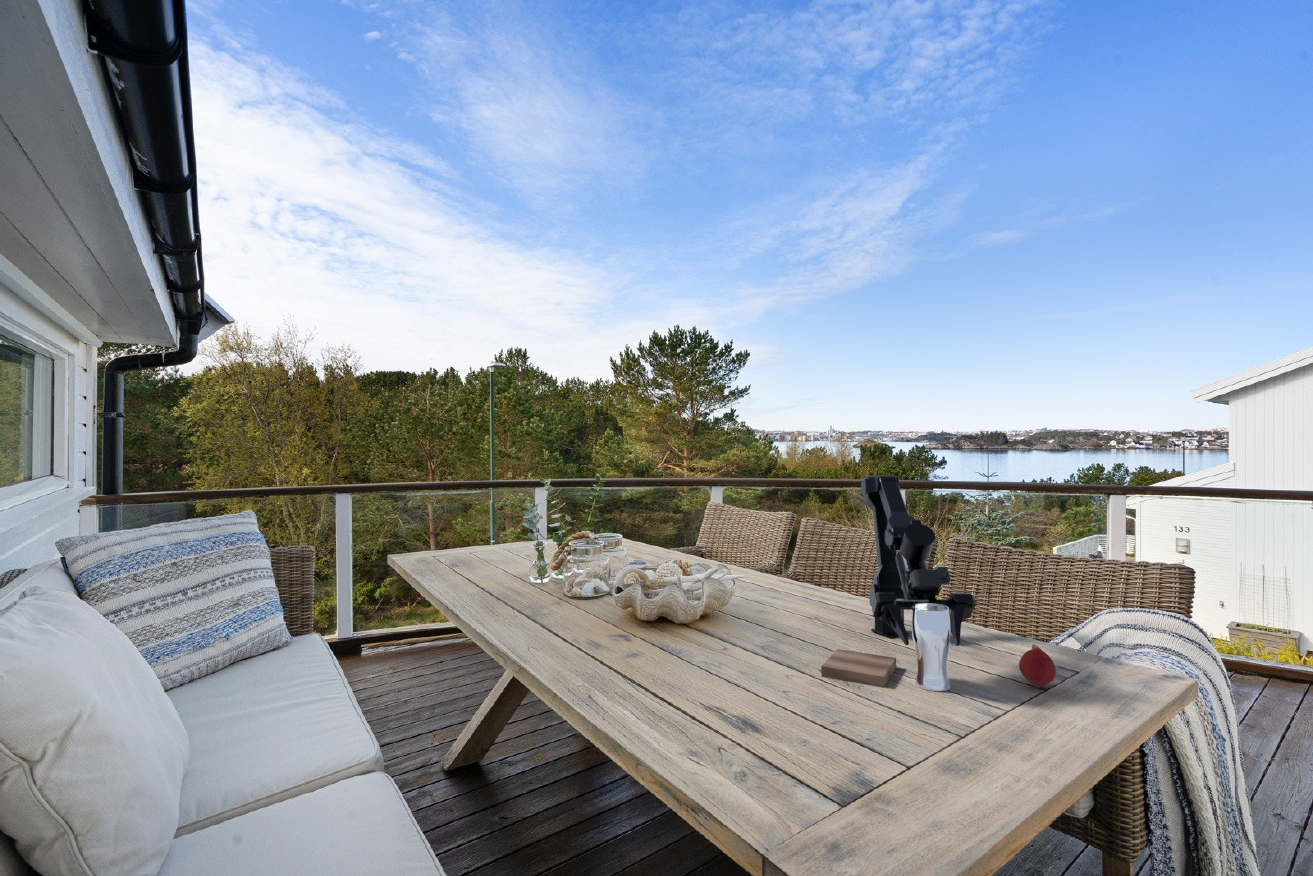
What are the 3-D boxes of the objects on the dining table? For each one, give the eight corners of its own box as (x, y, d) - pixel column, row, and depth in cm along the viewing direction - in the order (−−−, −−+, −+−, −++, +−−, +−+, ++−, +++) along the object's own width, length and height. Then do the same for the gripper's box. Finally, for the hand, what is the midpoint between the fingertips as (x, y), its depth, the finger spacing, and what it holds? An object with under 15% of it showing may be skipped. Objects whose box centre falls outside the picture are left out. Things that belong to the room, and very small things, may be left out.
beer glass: (945, 678, 122) (942, 602, 122) (958, 693, 115) (956, 611, 115) (908, 678, 122) (906, 602, 123) (919, 692, 115) (917, 611, 116)
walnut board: (838, 658, 135) (837, 649, 135) (896, 667, 128) (896, 657, 128) (821, 676, 124) (821, 666, 124) (884, 687, 118) (883, 676, 118)
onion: (1051, 683, 118) (1050, 641, 118) (1060, 695, 113) (1058, 651, 113) (1016, 680, 120) (1015, 638, 120) (1023, 691, 115) (1022, 648, 115)
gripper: (873, 552, 125) (888, 622, 114) (970, 551, 123) (996, 623, 111) (866, 583, 133) (879, 651, 121) (958, 583, 130) (980, 653, 119)
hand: (932, 644), depth 118 cm, fingers open, 9 cm apart
